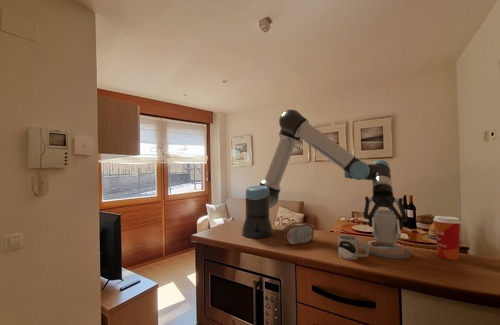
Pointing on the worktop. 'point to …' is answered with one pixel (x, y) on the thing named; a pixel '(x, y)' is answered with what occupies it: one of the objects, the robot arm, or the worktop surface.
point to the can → (385, 227)
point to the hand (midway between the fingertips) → (386, 234)
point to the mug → (350, 248)
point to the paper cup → (447, 236)
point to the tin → (298, 233)
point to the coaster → (407, 255)
